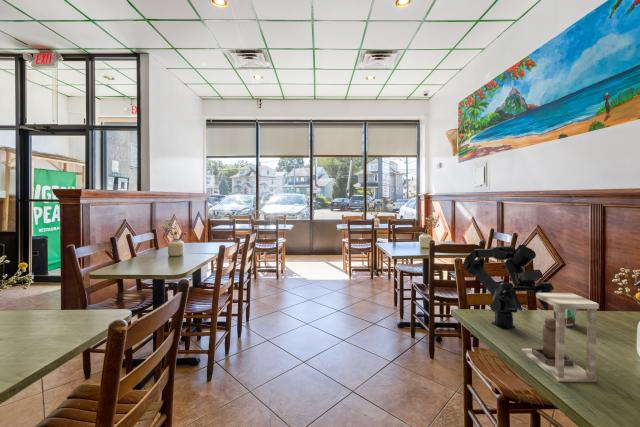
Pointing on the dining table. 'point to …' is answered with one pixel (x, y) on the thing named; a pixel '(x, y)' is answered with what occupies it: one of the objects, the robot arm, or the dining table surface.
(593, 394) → the dining table surface
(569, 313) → the food container
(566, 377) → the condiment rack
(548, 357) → the pepper mill
